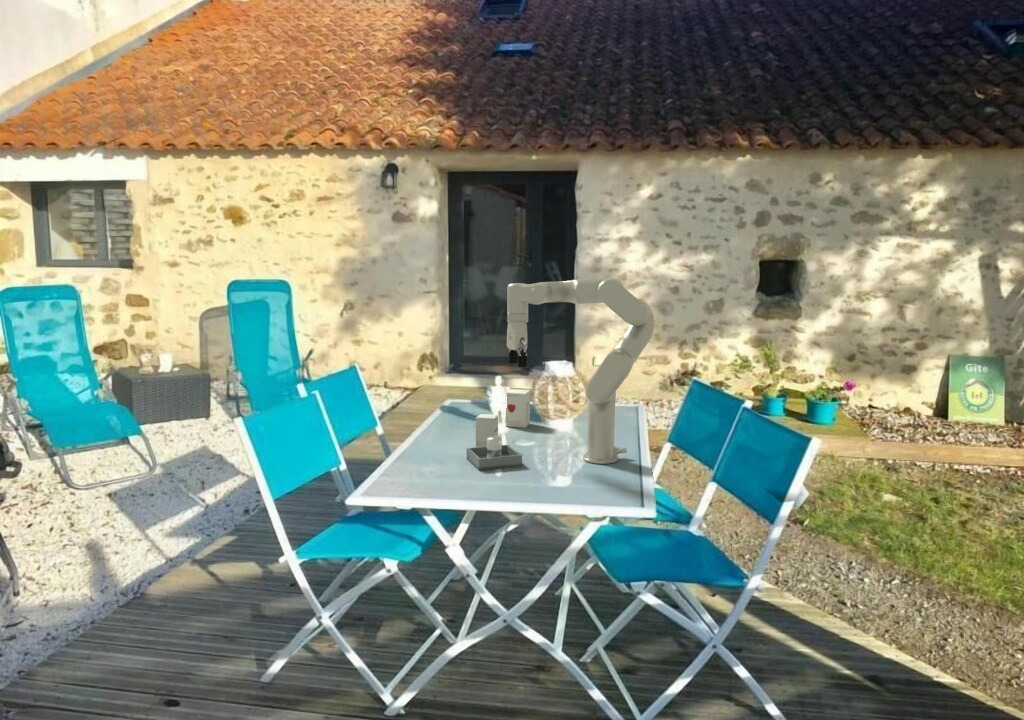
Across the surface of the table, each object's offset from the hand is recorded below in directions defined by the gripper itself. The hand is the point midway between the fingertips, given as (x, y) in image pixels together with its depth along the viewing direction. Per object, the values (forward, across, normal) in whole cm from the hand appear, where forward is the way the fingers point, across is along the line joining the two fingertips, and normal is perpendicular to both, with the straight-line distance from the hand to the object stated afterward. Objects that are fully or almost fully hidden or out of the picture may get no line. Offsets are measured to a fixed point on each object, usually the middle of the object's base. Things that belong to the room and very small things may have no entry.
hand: (517, 365), depth 277 cm
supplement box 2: (+34, -45, +16) cm, 58 cm away
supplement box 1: (+34, -12, -8) cm, 36 cm away
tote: (+33, +8, -12) cm, 36 cm away
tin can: (+32, +8, -11) cm, 35 cm away
